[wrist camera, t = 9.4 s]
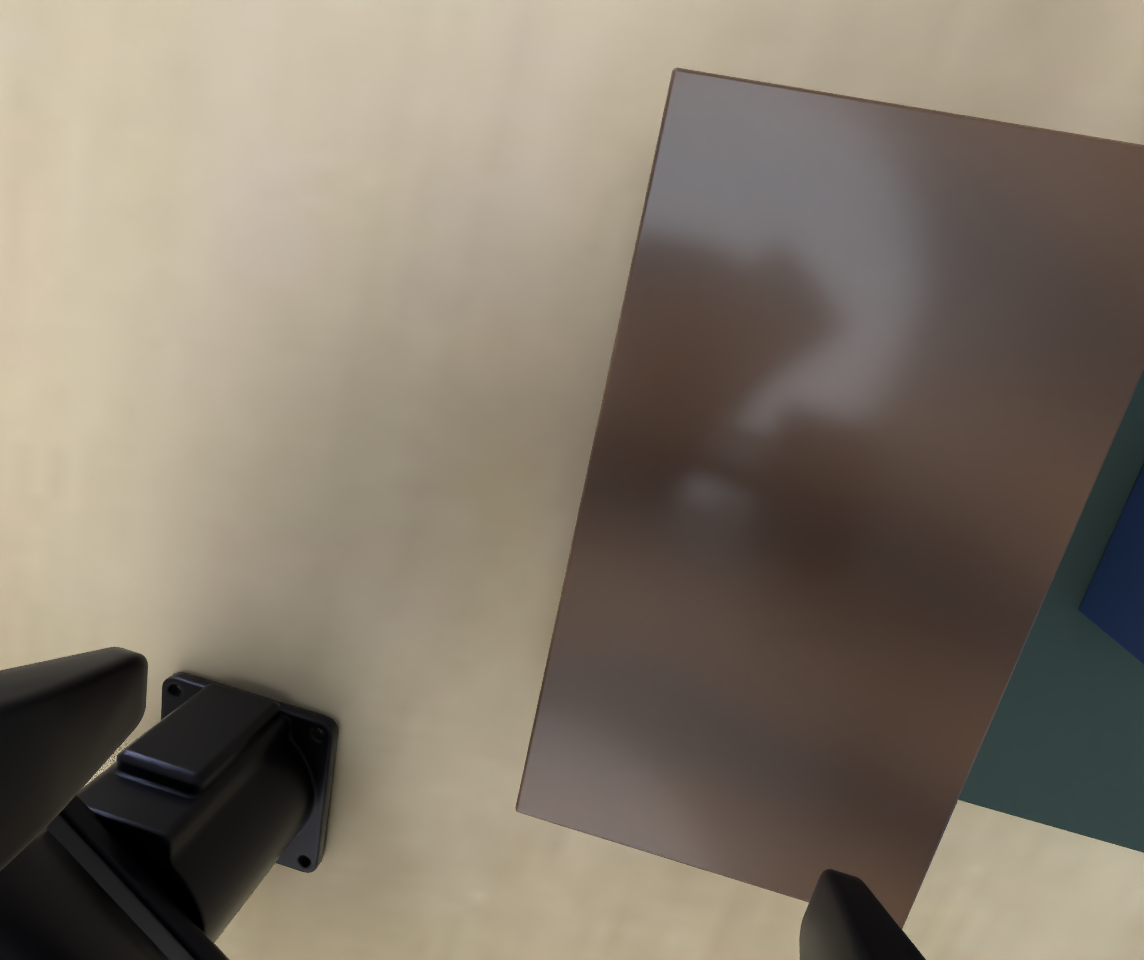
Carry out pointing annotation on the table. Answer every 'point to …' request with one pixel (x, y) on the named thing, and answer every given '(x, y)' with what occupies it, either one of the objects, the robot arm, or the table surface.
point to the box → (1122, 579)
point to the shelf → (831, 476)
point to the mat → (1075, 689)
